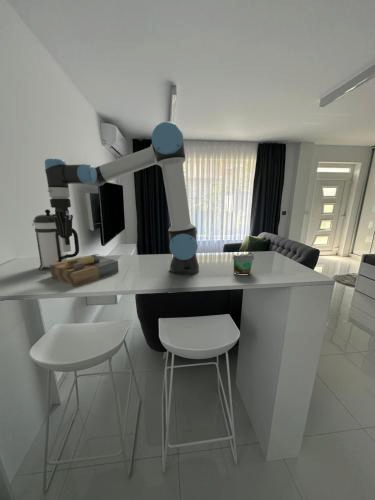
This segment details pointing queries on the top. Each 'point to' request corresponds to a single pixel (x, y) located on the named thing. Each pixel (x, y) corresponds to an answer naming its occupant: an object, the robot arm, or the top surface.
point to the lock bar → (82, 260)
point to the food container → (243, 263)
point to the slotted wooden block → (84, 271)
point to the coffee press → (51, 241)
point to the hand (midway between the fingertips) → (67, 251)
